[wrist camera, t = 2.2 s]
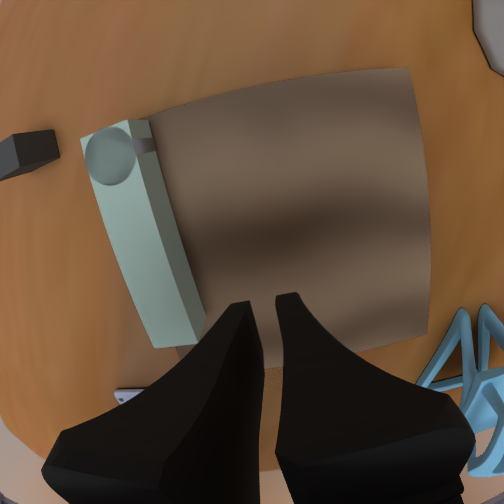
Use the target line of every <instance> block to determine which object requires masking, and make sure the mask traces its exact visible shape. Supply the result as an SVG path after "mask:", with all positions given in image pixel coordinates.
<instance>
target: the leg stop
mask: <svg viewBox="0 0 504 504" xmlns="http://www.w3.org/2000/svg"><path fill="white" fill-rule="evenodd" d="M58 158H60V155H59V151H58V147H57V143H56V139H55V134H54V130H44V131H35V132H26V133H18V134H12V135H11V136H9V137H8V138H6V139H5V140H3V141H2V142H0V181H2V180H5V179H9V178H12V177H15V176H18V175H22V174H25V173H29V172H31V171H33V170H35V169H37V168H39V167H41V166H43V165H45V164H47V163H49V162H51V161H53V160H56V159H58Z"/></svg>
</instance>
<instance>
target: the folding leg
mask: <svg viewBox="0 0 504 504" xmlns="http://www.w3.org/2000/svg"><path fill="white" fill-rule="evenodd" d="M80 141H81V145H82V149H83V153H84V157H85V164H86V167H87V170H88V172H89V175H90V179H91V182H92V186H93V189H94V192H95V196H96V199H97V202H98V205H99V209H100V212H101V215H102V218H103V221H104V224H105V227H106V230H107V233H108V236H109V239H110V242H111V244H112V247H113V250H114V253H115V255H116V258H117V261H118V264H119V266H120V269H121V271H122V274H123V277H124V279H125V282H126V284H127V287H128V289H129V292H130V294H131V297H132V299H133V301H134V304H135V306H136V308H137V311H138V313H139V315H140V318H141V320H142V322H143V324H144V327H145V329H146V331H147V333H148V336H149V338H150V340H151V342H152V344H153V346H154V348H163V347H173V346H182V345H190V344H197V343H198V342H199V340H200V336H201V333H202V330H203V326H204V323H205V320H206V314H205V311H204V309H203V306H202V303H201V300H200V297H199V294H198V291H197V288H196V285H195V282H194V279H193V276H192V273H191V270H190V267H189V263H188V260H187V257H186V254H185V251H184V248H183V244H182V241H181V238H180V235H179V231H178V228H177V225H176V221H175V218H174V215H173V211H172V208H171V204H170V201H169V197H168V194H167V190H166V187H165V183H164V180H163V176H162V172H161V169H160V165H159V161H158V157H157V154H156V147H155V142H154V140H153V138H152V134H151V130H150V126H149V122H148V120H125V121H122V122H120V123H117V124H115V125H112V126H110V127H105V128H102V129H100V130H98V131H97V132H95V133H93V134H90V135H88V136H86V137H84V138H81V139H80Z"/></svg>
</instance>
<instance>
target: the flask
mask: <svg viewBox="0 0 504 504" xmlns="http://www.w3.org/2000/svg"><path fill="white" fill-rule="evenodd" d="M473 10H474V32H475V34H476V36H477V38H478V40H479V42H480V44H481V46H482V48H483V50H484V52H485V55H486V57H487V59H488V61H489V64H490V66H491V68H492V69H493V70H494V71H496V72H498V73H499V74H501V75H503V76H504V0H473Z"/></svg>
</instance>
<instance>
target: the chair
mask: <svg viewBox="0 0 504 504" xmlns="http://www.w3.org/2000/svg"><path fill="white" fill-rule="evenodd" d="M490 333H491V334H492V336H493V337H494V338H495V340H496V341H497V342H498V344H499V345H500V346H501V348H502V349H503V351H504V325H503V324H502V323H501V321H500V320H499V319H498V318H497V316H496V315H495V314H494V313H493V311H492V310H491V309H490V307H489V306H488V305H487V304H484V305H482V306H481V308H480V311H479V317H478V369H476V364H475V358H474V349H473V340H472V330H471V321H470V316H469V314H468V313H467V312H466V310H465V309H464V308H460V309H459V310H458V311H457V313H456V315H455V317H454V320H453V322H452V324H451V326H450V328H449V330H448V332H447V334H446V336H445V337H444V339H443V341H442V343H441V344H440V346H439V348H438V349H437V351H436V353H435V354H434V356H433V358H432V359H431V361H430V362H429V364H428V365H427V367H426V369H425V370H424V372H423V373H422V375H421V376H420V378H419V379H418V381H417V383H416V384H415V385H419V386H422V387H425V388H428V389H432V390H435V391H438V392H441V391H445V390H449V389H453V388H457V387H460V386H463V388H462V397H461V402H460V406H459V409H460V410H461V412H462V413H463V414H464V416H465V417H466V419H467V421H468V422H469V424H470V426H471V428H472V430H473V432H474V434H476V433H478V432H481V431H484V430H486V429H489V428H492V427H495V426H496V428H495V431H494V433H493V436H492V439H491V441H490V443H489V445H488V447H487V449H486V450H485V452H484V453H483V454H482V455H480V456H479V457H475V453H476V445H475V446H474V449H473V451H472V454H471V456H470V457H469V459H468V461H467V463H468V475H470V476H475V477H490V476H497V475H501V474H504V366H503V367H498V368H493V369H489V370H487V367H488V359H489V345H490ZM460 338H461V345H462V361H463V376H459V377H455V378H451V379H447V380H443V381H439V382H435V383H431V381H432V380H433V379H434V377H435V376H436V374H437V373H438V372H439V370H440V369H441V367H442V366H443V364H444V363H445V361H446V360H447V359H448V357H449V356H450V354H451V353H452V351H453V350H454V348H455V346H456V345H457V343H458V342H459V340H460Z"/></svg>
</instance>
